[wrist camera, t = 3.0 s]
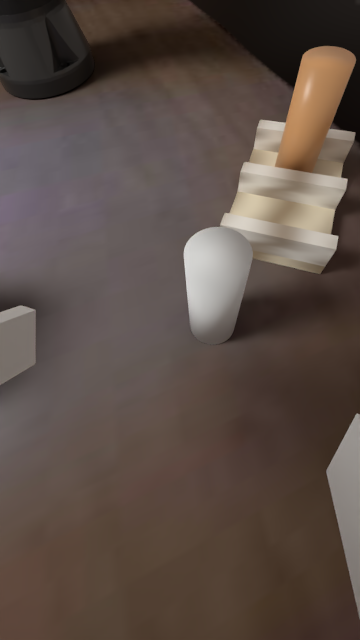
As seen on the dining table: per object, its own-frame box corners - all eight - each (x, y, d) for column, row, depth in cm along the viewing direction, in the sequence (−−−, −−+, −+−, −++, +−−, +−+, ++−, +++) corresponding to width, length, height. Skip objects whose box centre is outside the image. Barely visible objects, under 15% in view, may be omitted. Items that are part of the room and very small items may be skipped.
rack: (218, 250, 29) (220, 224, 26) (254, 150, 35) (260, 119, 32) (320, 274, 27) (336, 249, 24) (340, 163, 33) (355, 132, 30)
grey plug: (189, 305, 27) (183, 228, 18) (232, 303, 26) (248, 225, 17) (190, 345, 25) (184, 283, 16) (236, 344, 25) (256, 280, 16)
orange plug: (271, 161, 32) (298, 48, 23) (307, 159, 32) (348, 43, 23) (276, 186, 31) (307, 74, 22) (314, 184, 30) (362, 70, 21)
